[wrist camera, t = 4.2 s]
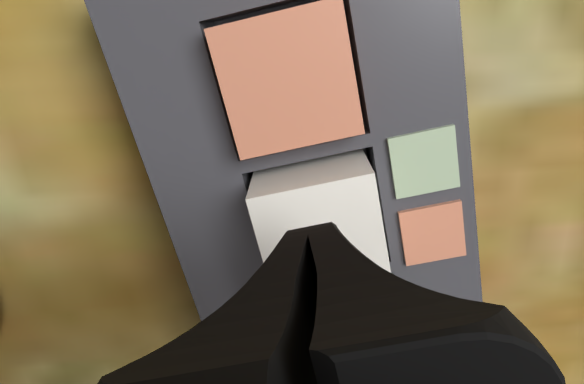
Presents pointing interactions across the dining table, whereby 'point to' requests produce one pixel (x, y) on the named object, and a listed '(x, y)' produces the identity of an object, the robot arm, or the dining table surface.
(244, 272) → the keypad
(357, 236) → the cream key
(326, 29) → the terracotta key
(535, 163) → the dining table surface
